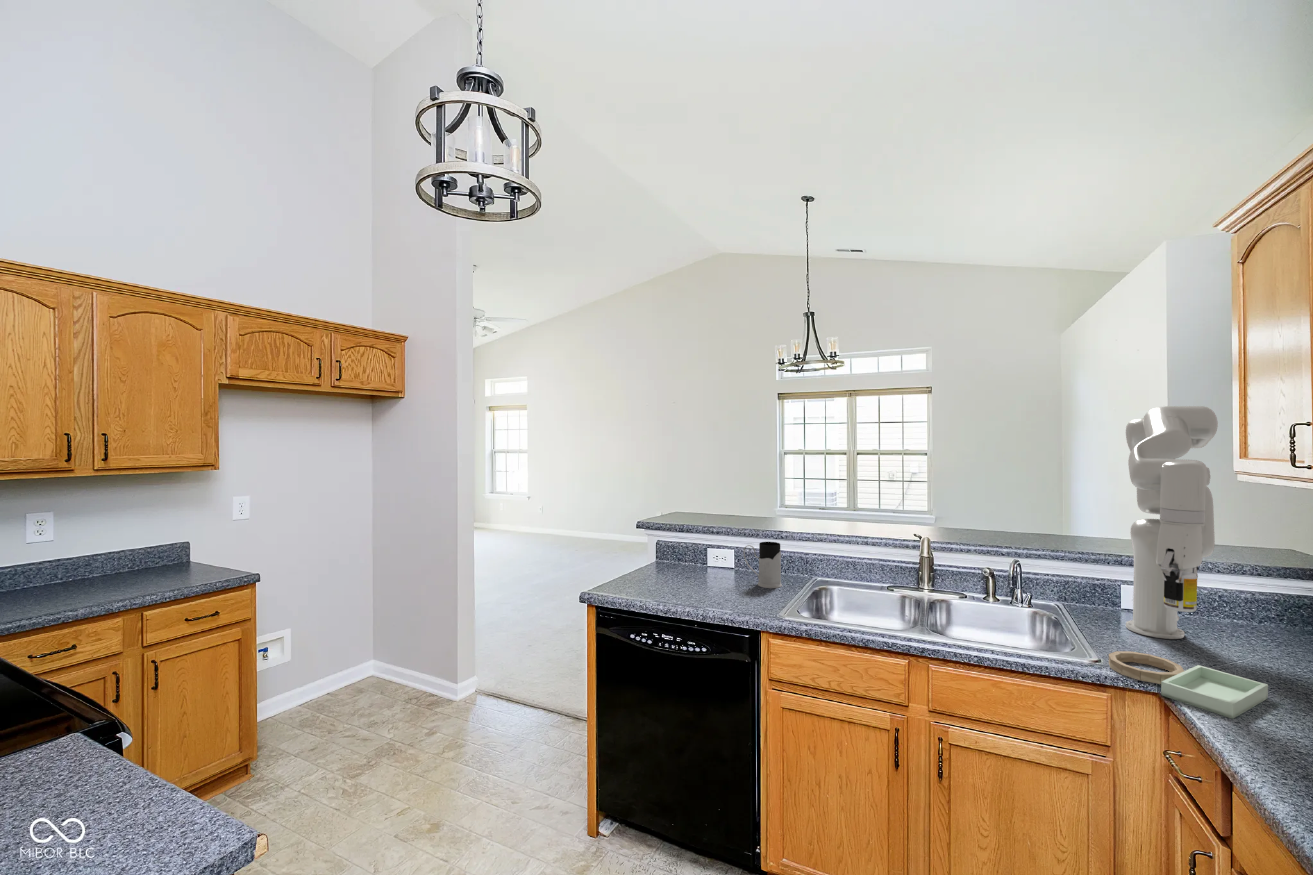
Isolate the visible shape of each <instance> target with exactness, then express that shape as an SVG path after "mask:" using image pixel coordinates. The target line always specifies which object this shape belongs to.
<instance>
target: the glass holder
mask: <svg viewBox="0 0 1313 875" xmlns="http://www.w3.org/2000/svg"><path fill="white" fill-rule="evenodd" d="M747 547H751V548H752V549H753V554H754V557H755V559H758V573H757V572H756V570H754V569H753V567H751V565H750V563H748V560H747V558H746V548H747ZM758 549H759V553H758V556H757V555H756V553H757V552H756V549H755V547H754V546H753V545H749V544H747V545H745V546H744V548H743V558H744V559H743V560H744V561H745V564H746V565H747V567H748V568H749V569H750V570H751V571H752V572H753V573H754V574H755V575H756V576H757V579H758V582H757V586H758V587H760V588H764V589H778V588H781V587H783V584H782V581H781V580H782V576H781V574H782V561H781V560H782V551H781V543H780V542H778V541H777V542H776V541H762V542H759V548H758Z"/></svg>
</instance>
